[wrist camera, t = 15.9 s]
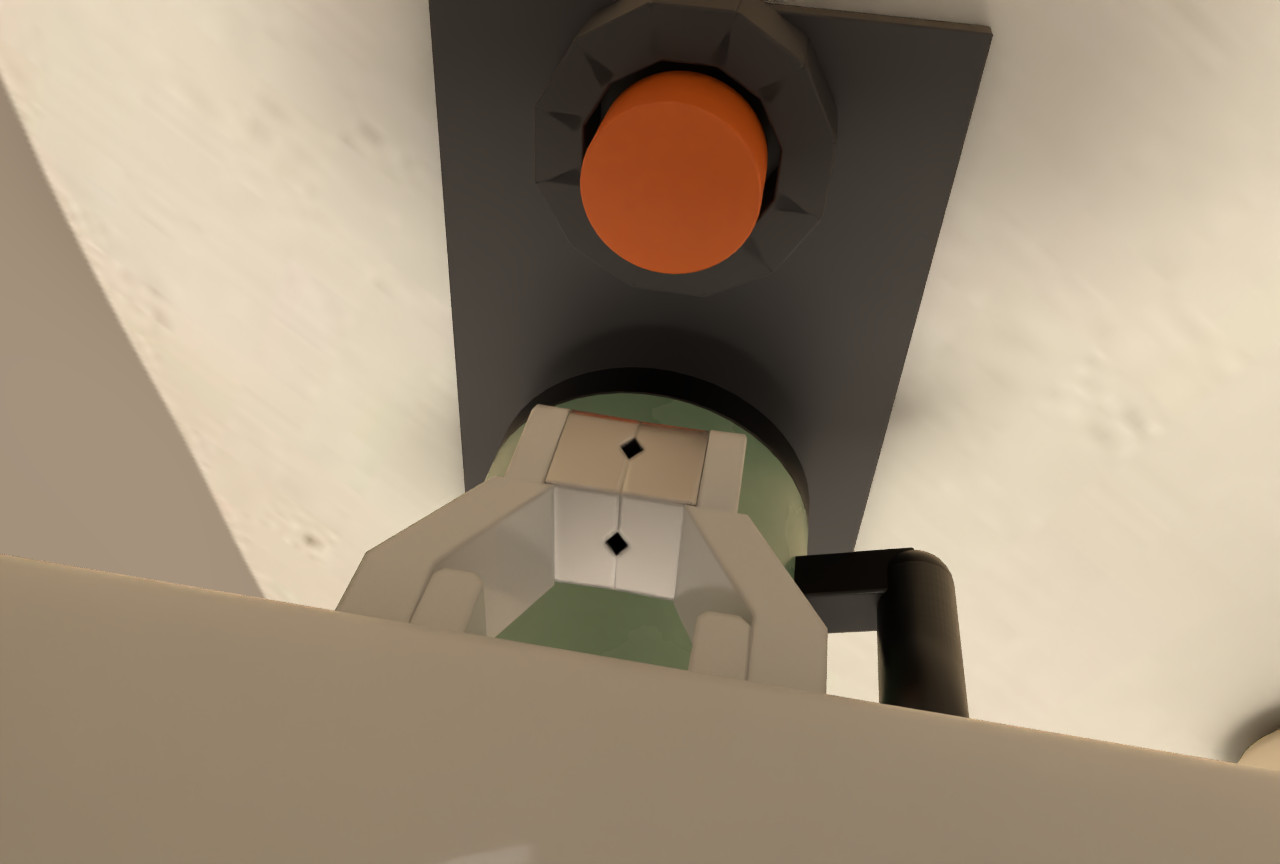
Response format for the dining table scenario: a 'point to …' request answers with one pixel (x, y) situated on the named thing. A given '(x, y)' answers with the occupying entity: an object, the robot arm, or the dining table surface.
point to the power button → (675, 173)
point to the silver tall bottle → (1264, 752)
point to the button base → (752, 276)
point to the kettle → (779, 508)
